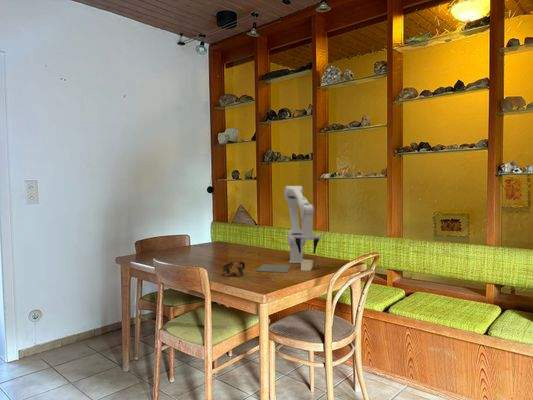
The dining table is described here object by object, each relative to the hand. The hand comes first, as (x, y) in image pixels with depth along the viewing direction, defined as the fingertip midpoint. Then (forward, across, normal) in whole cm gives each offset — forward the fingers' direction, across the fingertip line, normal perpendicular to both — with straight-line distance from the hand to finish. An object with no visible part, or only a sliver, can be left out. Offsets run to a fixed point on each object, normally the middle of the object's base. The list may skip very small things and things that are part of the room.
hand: (307, 253), depth 213 cm
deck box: (+9, 0, 0) cm, 9 cm away
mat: (+8, -17, -4) cm, 19 cm away
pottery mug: (+9, -34, -20) cm, 40 cm away
